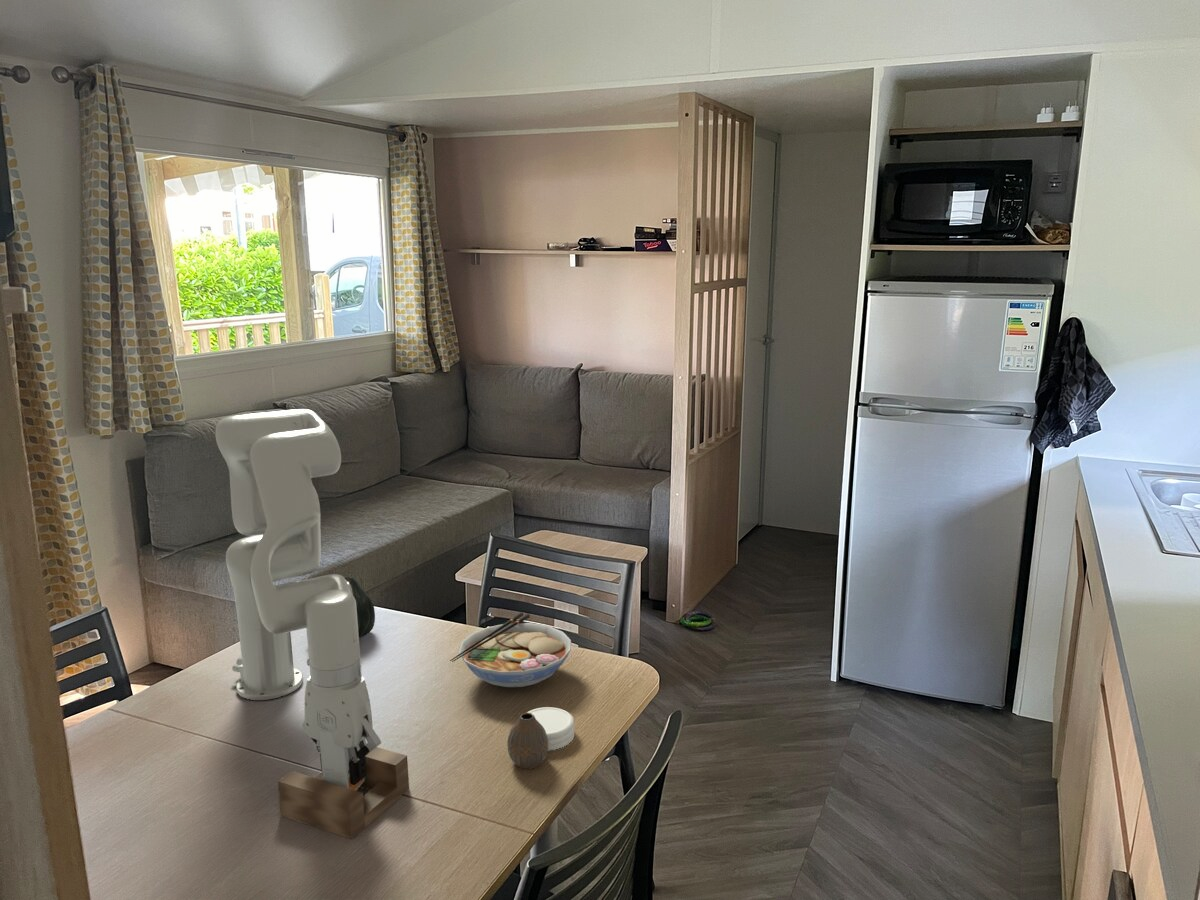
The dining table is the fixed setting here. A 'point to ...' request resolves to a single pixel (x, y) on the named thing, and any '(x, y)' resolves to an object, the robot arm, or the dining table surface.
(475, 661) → the ramen bowl
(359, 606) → the squash
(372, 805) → the socket
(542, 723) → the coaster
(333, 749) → the skincare box
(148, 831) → the dining table surface
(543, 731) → the vase
